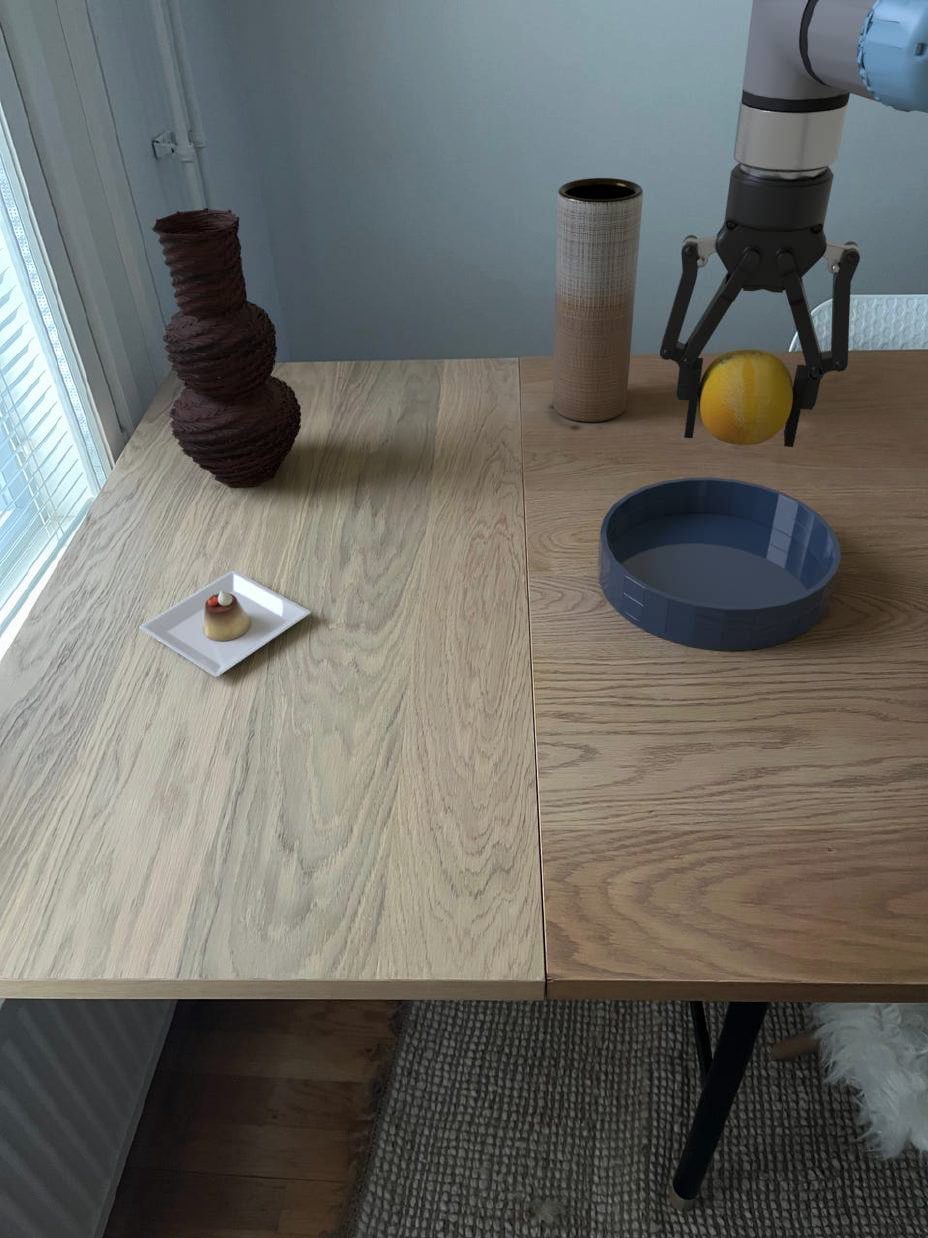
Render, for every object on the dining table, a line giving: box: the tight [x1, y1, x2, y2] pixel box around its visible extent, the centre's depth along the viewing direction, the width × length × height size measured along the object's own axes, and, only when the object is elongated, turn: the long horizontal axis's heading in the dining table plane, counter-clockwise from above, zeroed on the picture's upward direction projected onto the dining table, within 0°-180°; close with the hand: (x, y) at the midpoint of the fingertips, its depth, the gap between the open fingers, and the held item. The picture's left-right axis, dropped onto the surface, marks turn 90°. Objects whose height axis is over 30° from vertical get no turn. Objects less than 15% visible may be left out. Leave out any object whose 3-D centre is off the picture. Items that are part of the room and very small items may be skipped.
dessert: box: [138, 569, 312, 678], centre depth 92 cm, size 12×12×5 cm
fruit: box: [697, 349, 794, 446], centre depth 84 cm, size 9×8×8 cm
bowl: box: [597, 476, 842, 652], centre depth 96 cm, size 23×23×5 cm
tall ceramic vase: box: [552, 177, 644, 423], centre depth 120 cm, size 10×10×28 cm
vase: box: [151, 207, 302, 488], centre depth 109 cm, size 15×15×30 cm
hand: (738, 434), depth 86 cm, fingers closed on fruit, 8 cm apart
